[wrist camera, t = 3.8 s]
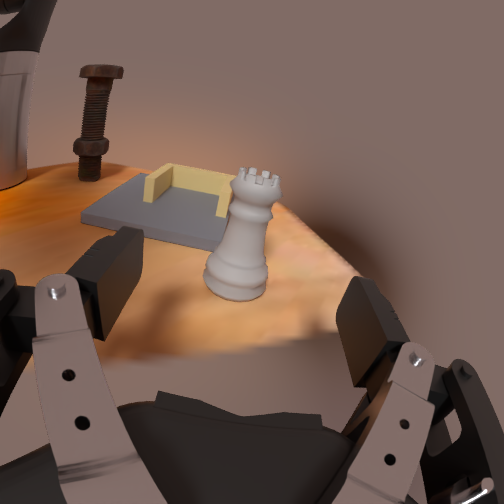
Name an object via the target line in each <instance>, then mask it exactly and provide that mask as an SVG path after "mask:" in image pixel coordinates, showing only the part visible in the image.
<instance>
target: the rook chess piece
mask: <svg viewBox="0 0 504 504" xmlns="http://www.w3.org/2000/svg"><path fill="white" fill-rule="evenodd" d="M246 170H247V168H244V167H241V168H240V169H239V173H238V176H236V177H235V178H234V179H233V180H232V181H230V187H231V189H232V191H233V193H234V195H235V196H234V201H233V203H231V204H230V205H229V207H228V209H229V211H230V213H231V214H230V218H229V222H228V225H227V228H226V231H225V233H224V236H223V239H222V241H221V242H220V244H219V245H218V246H216V248H215V251H214V252H213V253H211V254H210V255H209V257H208V259H207V262H206V269H205V270H204V273H203V278H204V281H205V283H206V285H207V286H208V288H209V289H210V290H211V291H212V292H213V293H214V294H215V295H217V296H219V297H221V298H223V299H225V300H229V301H234V302H246V301H250V300H252V299H255V298H257V297H258V296H260V295H261V294H262V293H263V292H264V291H265V289H266V282H265V281H266V280H267V279H268V266H267V265H266V257H265V256H264V243H265V235H266V229H267V226H268V222H269V221H270V220H271V219H272V218H273V215H272V212H271V208H272V206H273V204H274V203H275V202H276V201H277V200H279V199H280V198H281V197H282V196H283V194H282V192H281V189H280V187H279V184H280V180H281V179H280V177H279V176H278V175H275V174H274V175H273V176H272V179H270V173H271V172H269V171H265V170H263V173H262V176H258V175H256V171H257V169H256V168H251V167H249V169H248V173H247V174H246Z"/></svg>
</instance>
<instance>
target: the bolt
mask: <svg viewBox="0 0 504 504" xmlns="http://www.w3.org/2000/svg"><path fill="white" fill-rule="evenodd" d="M123 71H124V70H123V67H120V66H114V65H86V66H84V67H82V68H81V71H80V76H79V77H81V78H88V81H87V86H86V93H87V94H86V97H85V98H87V99H85V100H86V102H85V103H86V104H85V107H84V110H83V111H85V112H84V113H83V114H84V115H83V116H84V117H83V120H82V121H83V122H82V124H83V125H82V130H81V131H82V133H81V134H82V135H81V137H80V138H78V139H76V140H75V142H74V144H73V152H74V153H75V154H76V155H79V157H80V158H79V166H78V167H79V168H78V169H79V171H78V172H79V173H78V174H79V175H78V177H79V179H80V180H81V181H96V180H97V179H99V178H100V177H101V176H100V175H101V174H100V173H101V171H100V170H101V169H100V168H101V160H102V159H101V158H102V157H101V155H104V154H106V152H107V151H108V148H109V140H108V139H107V138H104V137H103V135H104V134H103V133H104V130H105V129H104V127H105V126H104V125H105V120H106V116H105V115H106V112H107V111H106V110H107V107H108V106H107V105H108V103H107V102H109V101H108V99H109V98H108V97H109V94H110V91H111V89H112V84H113V79H122V77H123Z"/></svg>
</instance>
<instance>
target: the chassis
mask: <svg viewBox="0 0 504 504" xmlns="http://www.w3.org/2000/svg"><path fill="white" fill-rule="evenodd" d="M235 177H236V176H234V175H229V174H224V173H220V172H215V171H210V170H204V169H199V168H193V167H188V166H183V165H177V164H171V163H167V164H165V165H164V166H162V167H161V168H160V169H158V170H156V171H154V172H153V173H151V174H144V173H140V174H138V175H137V176H135V177H133V178H132V179H130V180H129V181H127V182H125V183H124V184H122V185H121V186H119V187H118V188H116V189H115V190H113V191H111V192H110V193H108V194H107V195H105V196H104V197H102V198H101V199H99V200H98V201H97V202H95V203H94V204H92V205H91V206H89V207H88V208H86V209H85V210H84V211H82V212H81V223H85V224H89V225H94V226H98V227H103V228H107V229H112V230H116V231H118V230H119V229H120V228H121V227H122V226H129V227H133V228H138V229H142V230H143V232H144V237H148V238H152V239H157V240H161V241H166V242H170V243H175V244H180V245H184V246H189V247H193V248H198V249H203V250H207V251H212V252H214V251H215V248H216V246H218V245H219V244H220V242H221V241H222V239H223V236H224V233H225V231H226V227H227V223H228V220H229V216H230V211H229V209H228V207H229V205H230V204H231V203H233V201H234V196H235V195H234V193H233V191H232V189H231V187H230V181H232V180H233V179H234V178H235Z"/></svg>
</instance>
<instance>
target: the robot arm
mask: <svg viewBox="0 0 504 504" xmlns="http://www.w3.org/2000/svg"><path fill="white" fill-rule="evenodd" d="M56 2H57V0H0V14H9V13H15V12H19V13H18V14H17V15H16V16H15V17H14V18H13V19H12V20H11V21H10V22H8V23H7V24H6V25H4V26H3V27H2V28H0V190H1V189H4V188H8V187H11V186H14V185H16V184H18V183H20V182H22V181H23V180H25V179H26V177H27V141H28V125H29V114H30V104H31V96H32V89H33V82H34V76H35V70H36V65H37V60H38V55H39V51H40V47H41V43H42V41H43V38H44V36H45V33H46V31H47V27H48V24H49V21H50V18H51V15H52V12H53V10H54V7H55V5H56ZM143 243H144V232H143V230H142V229H138V228H133V227H129V226H122V227H121V228H120V229H119V230H118V231H117V232H116V233H115V234H114V235H113V236H109V235H108V236H106V237H104V238H102V239H100V240H97V241H96V242H95V243H94V244H93V245H92V246H91V247H90V249H88V250H87V251H86V252H85V253H84V255H82V257H81V258H80V259H79V260H78V261H77V262H76V263H75V264H74V265H73V266H72V267H71V268H70V269H69V270H68V271H67V272H66V273H65V274H52V275H49V276H46V277H44V278H43V279H41V280H40V281H39V282H38V283H37V285H36V287H31V286H18V285H17V283H16V279H15V276H14V274H13V273H12V272H11V271H9V270H4V269H0V417H1V414H2V412H3V410H4V408H5V406H6V403H7V401H8V399H9V397H10V395H11V393H12V391H13V389H14V387H15V385H16V383H17V381H18V379H19V378H20V375H21V374H22V372H23V370H24V368H25V366H26V365H27V363H28V361H29V359H30V358H31V356H32V354H33V357H34V365H35V373H36V380H37V386H38V392H39V398H40V403H41V407H42V412H43V417H44V421H45V425H46V429H47V433H48V437H49V441H50V443H49V444H46V445H45V446H42V447H41V448H39V449H36V450H35V451H32V452H30V453H28V454H26V455H24V456H22V457H20V458H18V459H16V460H13V461H11V462H9V463H7V464H4V465H2V466H0V504H418V503H417V502H416V501H415V500H414V499H413V498H411V497H410V496H409V495H408V494H407V492H408V490H409V488H410V485H411V483H412V480H413V478H414V475H415V472H416V469H417V467H418V464H419V462H420V466H421V471H422V476H423V481H424V486H425V492H426V498H427V504H504V433H503V431H502V428H501V425H500V423H499V420H498V418H497V416H496V413H495V411H494V409H493V406H492V404H491V402H490V400H489V398H488V395H487V393H486V391H485V389H484V387H483V385H482V382H481V380H480V378H479V377H478V374H477V372H476V371H475V369H474V368H473V367H472V366H471V365H470V364H469V363H467V362H466V361H464V360H461V359H456V360H454V361H453V362H452V363H451V365H450V366H449V367H448V368H444V367H441V366H438V365H435V362H434V359H433V357H432V355H431V354H430V353H429V351H428V350H427V349H425V348H424V347H423V346H421V345H419V344H417V343H413V342H410V340H409V338H408V336H407V334H406V332H405V330H404V328H403V326H402V324H401V322H400V321H399V320H398V317H397V315H396V313H394V312H395V311H394V309H393V307H392V305H391V303H390V302H389V301H388V300H387V299H386V298H385V297H384V296H383V295H382V294H381V293H380V291H379V289H378V287H377V286H376V284H375V282H374V280H372V279H368V278H363V277H359V276H354V277H353V278H352V279H351V281H350V283H349V285H348V287H347V290H346V292H345V294H344V296H343V298H342V300H341V302H340V304H339V306H338V309H337V312H336V324H337V327H338V331H339V334H340V338H341V341H342V345H343V348H344V352H345V356H346V359H347V363H348V366H349V370H350V374H351V378H352V382H353V385H354V387H359V388H360V387H362V388H367V392H366V393H365V395H364V396H363V397H362V399H361V401H360V403H359V404H358V406H357V408H356V410H355V411H354V413H353V414H352V416H351V418H350V419H349V421H348V423H347V424H346V426H345V428H344V429H343V431H342V432H341V433H339V432H336V431H335V430H332V429H330V428H327V427H324V426H322V419H321V415H318V414H317V415H316V414H299V413H287V412H282V413H275V414H266V415H256V416H245V417H243V416H238V415H235V414H232V413H230V412H227V411H225V410H222V409H220V408H217V407H215V406H212V405H210V404H207V403H205V402H203V401H200V400H197V399H192V398H187V397H183V396H178V395H174V394H170V393H165V392H162V391H158V393H157V396H156V400H155V401H154V402H153V401H145V402H135V403H129V404H126V405H122V406H119V407H116V405H115V403H114V400H113V398H112V395H111V393H110V390H109V387H108V384H107V382H106V379H105V376H104V373H103V370H102V367H101V364H100V361H99V358H98V355H97V352H96V349H95V345H94V342H93V338H95V339H98V340H101V341H104V342H105V340H106V338H107V336H108V334H109V332H110V331H111V329H112V327H113V325H114V323H115V321H116V320H117V318H118V316H119V314H120V313H121V311H122V309H123V307H124V306H125V304H126V302H127V300H128V299H129V297H130V295H131V294H132V292H133V290H134V289H135V287H136V285H137V284H138V282H139V280H140V277H141V273H142V266H143ZM453 409H456V412H457V415H458V418H459V421H460V424H461V428H462V431H461V435H460V437H459V438H458V439H457V440H456V441H455V442H454V443H453V444H452V442H451V439H450V435H449V432H448V429H447V426H446V423H445V420H444V418H445V417H446V416H447V415H448V414H449V413H450V412H452V411H453Z"/></svg>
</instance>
